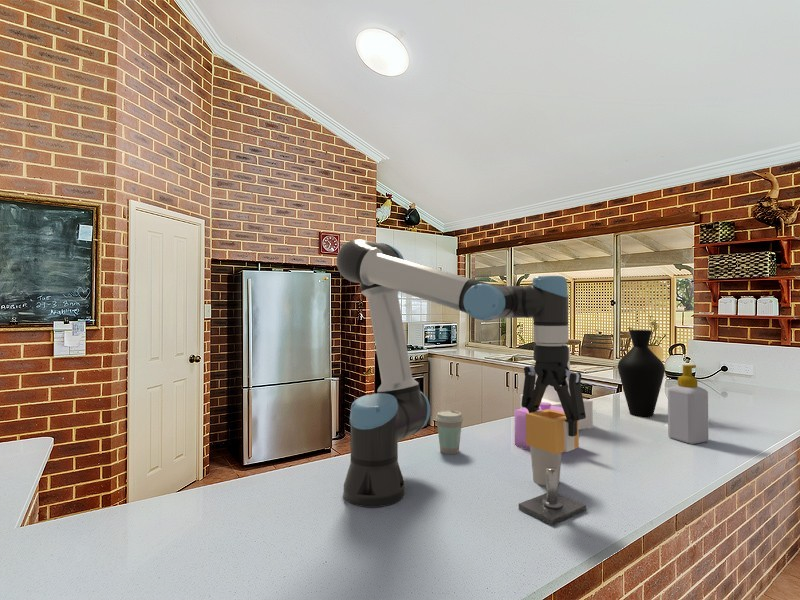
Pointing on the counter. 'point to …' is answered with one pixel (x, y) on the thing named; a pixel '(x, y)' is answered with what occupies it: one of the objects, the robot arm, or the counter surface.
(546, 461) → the coffee cup
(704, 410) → the soap bottle
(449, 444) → the coffee cup
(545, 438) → the hollow block
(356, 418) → the robot arm
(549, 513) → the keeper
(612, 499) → the counter surface
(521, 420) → the teapot
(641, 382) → the vase
